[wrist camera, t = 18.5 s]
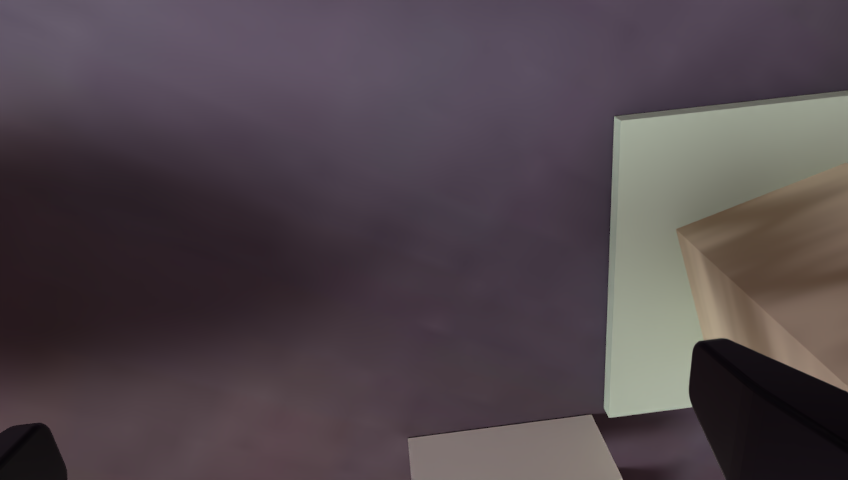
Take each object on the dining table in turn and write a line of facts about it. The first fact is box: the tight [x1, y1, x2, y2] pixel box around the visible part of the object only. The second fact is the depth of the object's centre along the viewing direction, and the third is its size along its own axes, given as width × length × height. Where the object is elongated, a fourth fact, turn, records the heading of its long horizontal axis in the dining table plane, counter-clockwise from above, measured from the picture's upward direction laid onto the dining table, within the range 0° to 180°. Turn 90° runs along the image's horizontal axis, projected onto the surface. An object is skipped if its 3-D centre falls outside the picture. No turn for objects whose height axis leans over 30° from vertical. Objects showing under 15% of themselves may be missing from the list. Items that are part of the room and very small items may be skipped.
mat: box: [604, 90, 848, 418], centre depth 24 cm, size 12×12×1 cm
